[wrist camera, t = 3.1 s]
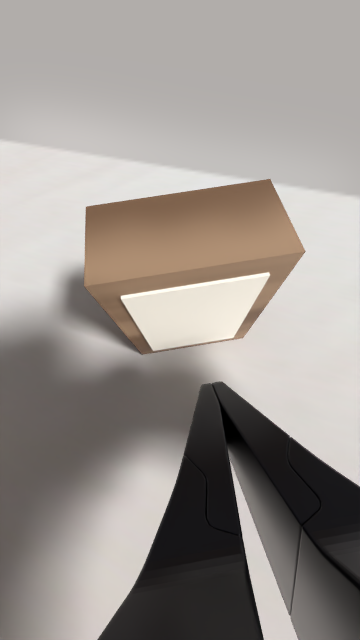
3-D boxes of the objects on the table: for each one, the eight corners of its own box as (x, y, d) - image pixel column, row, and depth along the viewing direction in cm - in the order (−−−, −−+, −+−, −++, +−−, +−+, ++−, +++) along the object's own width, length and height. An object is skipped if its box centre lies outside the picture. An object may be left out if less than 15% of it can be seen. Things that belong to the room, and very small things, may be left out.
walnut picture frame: (243, 339, 17) (307, 254, 8) (142, 356, 17) (83, 289, 8) (230, 294, 19) (270, 178, 9) (138, 309, 18) (86, 206, 9)
